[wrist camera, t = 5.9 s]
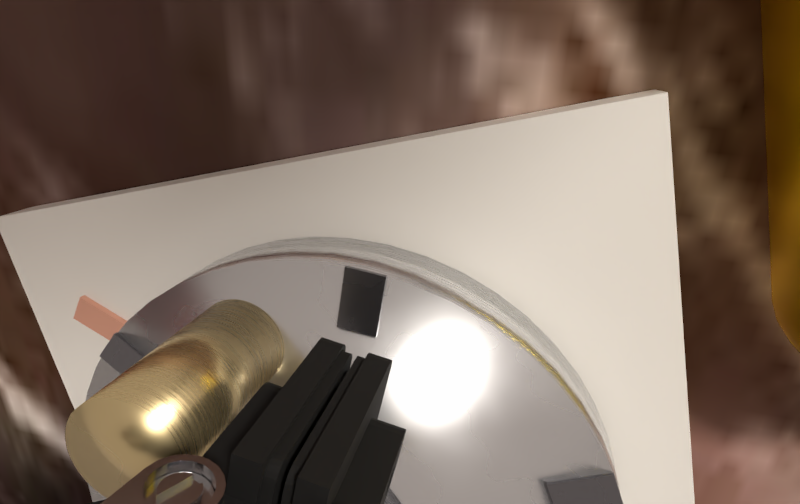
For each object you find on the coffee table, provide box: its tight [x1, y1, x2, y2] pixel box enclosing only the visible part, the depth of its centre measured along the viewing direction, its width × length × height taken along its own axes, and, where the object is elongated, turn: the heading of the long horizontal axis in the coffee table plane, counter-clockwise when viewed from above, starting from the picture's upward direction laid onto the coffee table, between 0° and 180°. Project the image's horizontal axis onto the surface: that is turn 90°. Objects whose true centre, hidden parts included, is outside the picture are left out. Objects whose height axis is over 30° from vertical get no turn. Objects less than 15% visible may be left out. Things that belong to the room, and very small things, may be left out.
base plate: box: [0, 89, 695, 504], centre depth 18 cm, size 20×20×2 cm
